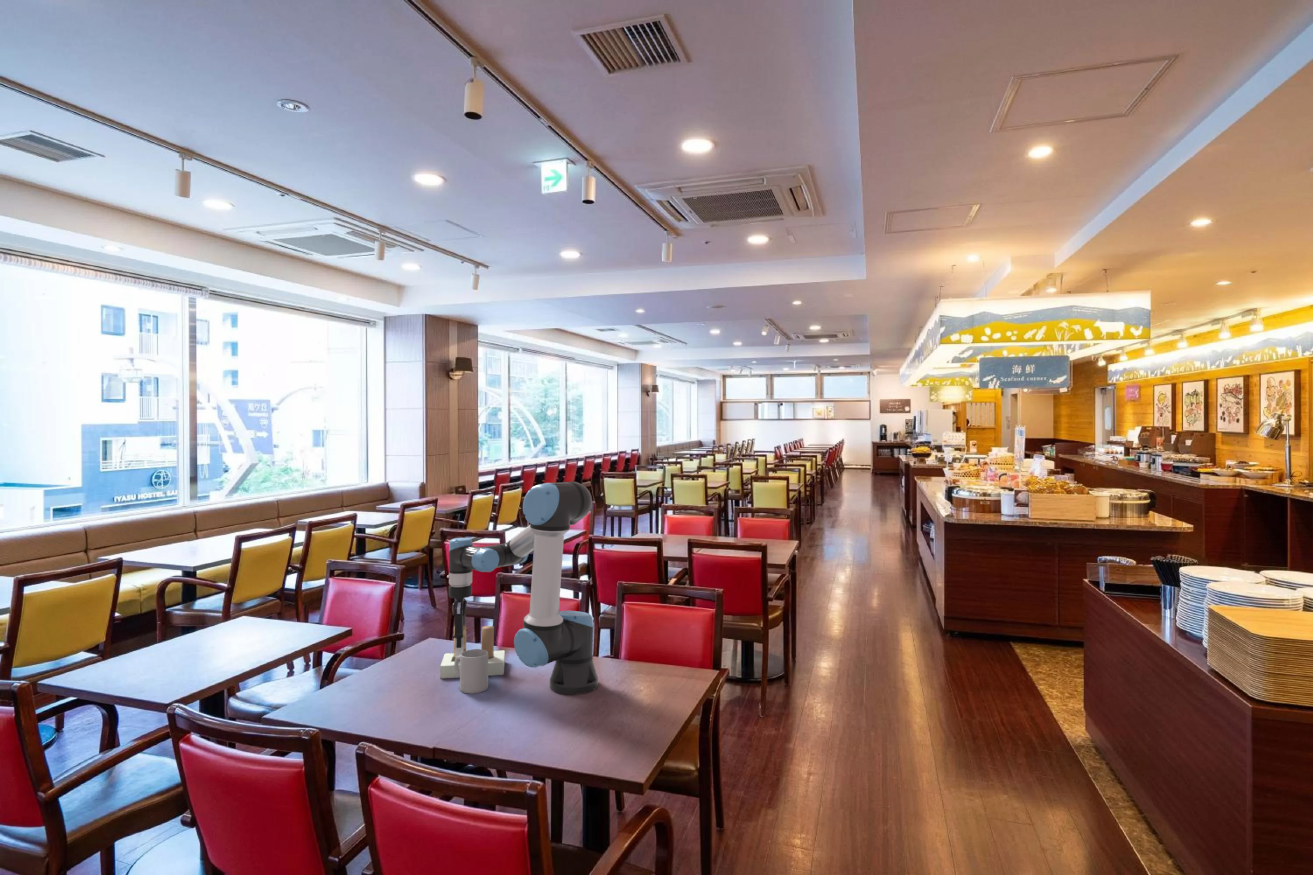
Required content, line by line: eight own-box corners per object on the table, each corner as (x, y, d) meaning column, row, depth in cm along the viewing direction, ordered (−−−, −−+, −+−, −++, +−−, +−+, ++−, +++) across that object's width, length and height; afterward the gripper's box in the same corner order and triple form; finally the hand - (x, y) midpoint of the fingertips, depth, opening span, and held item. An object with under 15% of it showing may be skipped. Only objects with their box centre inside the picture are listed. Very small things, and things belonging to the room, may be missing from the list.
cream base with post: (504, 661, 232) (504, 621, 232) (503, 674, 219) (503, 631, 219) (444, 665, 228) (445, 624, 228) (440, 678, 215) (440, 635, 215)
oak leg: (466, 665, 225) (467, 624, 225) (465, 670, 221) (466, 627, 221) (454, 666, 224) (454, 625, 224) (452, 670, 220) (453, 628, 220)
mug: (493, 686, 209) (494, 651, 209) (475, 695, 201) (475, 659, 201) (464, 680, 214) (464, 645, 214) (445, 688, 206) (445, 653, 206)
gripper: (451, 579, 231) (450, 646, 231) (445, 590, 213) (445, 663, 213) (473, 578, 232) (473, 645, 232) (470, 589, 215) (469, 662, 215)
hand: (459, 654), depth 223 cm, fingers open, 5 cm apart
